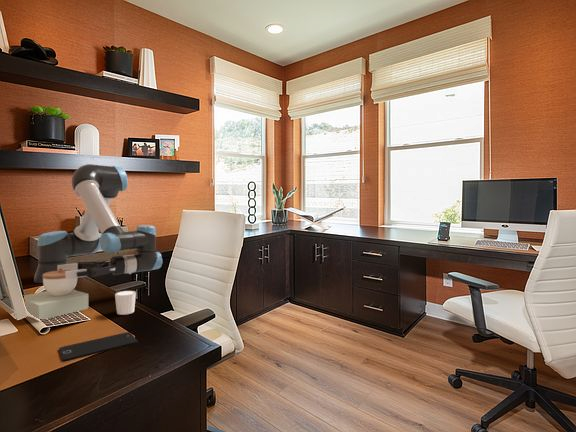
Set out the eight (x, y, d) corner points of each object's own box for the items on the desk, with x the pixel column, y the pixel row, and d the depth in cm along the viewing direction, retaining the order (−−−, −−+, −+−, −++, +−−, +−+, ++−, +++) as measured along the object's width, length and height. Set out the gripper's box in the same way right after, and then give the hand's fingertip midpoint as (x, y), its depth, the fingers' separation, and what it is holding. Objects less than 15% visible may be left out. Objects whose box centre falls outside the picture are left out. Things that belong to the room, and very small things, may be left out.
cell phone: (58, 350, 91) (58, 347, 91) (129, 334, 103) (129, 331, 103) (63, 363, 85) (63, 359, 85) (138, 344, 96) (138, 341, 96)
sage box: (16, 313, 118) (16, 297, 118) (65, 302, 132) (65, 287, 132) (39, 323, 111) (39, 305, 110) (88, 309, 124) (88, 293, 124)
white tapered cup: (140, 310, 123) (140, 291, 123) (124, 316, 117) (123, 296, 116) (127, 307, 126) (126, 289, 125) (110, 313, 120) (110, 294, 119)
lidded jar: (83, 292, 125) (83, 267, 124) (51, 299, 116) (50, 272, 115) (69, 288, 131) (69, 264, 130) (37, 294, 122) (36, 269, 121)
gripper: (134, 279, 129) (69, 289, 114) (113, 268, 147) (54, 275, 132) (133, 260, 129) (68, 267, 114) (112, 251, 146) (54, 257, 132)
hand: (61, 272), depth 123 cm, fingers open, 13 cm apart
